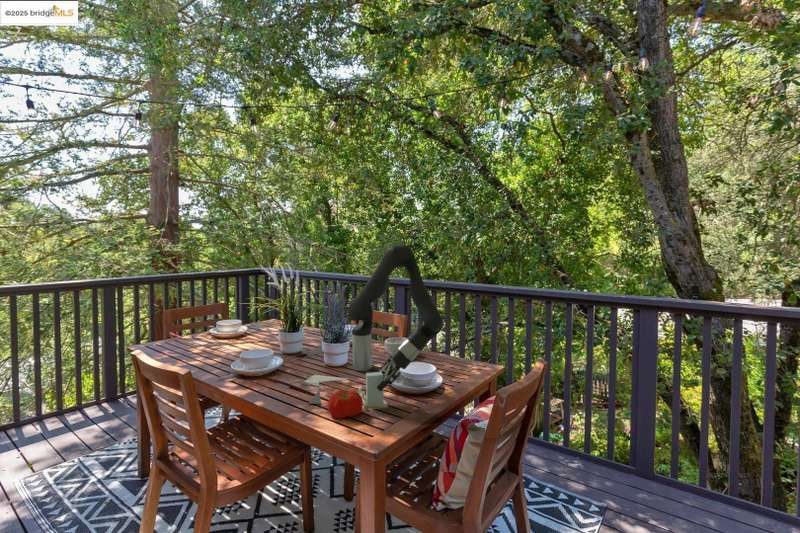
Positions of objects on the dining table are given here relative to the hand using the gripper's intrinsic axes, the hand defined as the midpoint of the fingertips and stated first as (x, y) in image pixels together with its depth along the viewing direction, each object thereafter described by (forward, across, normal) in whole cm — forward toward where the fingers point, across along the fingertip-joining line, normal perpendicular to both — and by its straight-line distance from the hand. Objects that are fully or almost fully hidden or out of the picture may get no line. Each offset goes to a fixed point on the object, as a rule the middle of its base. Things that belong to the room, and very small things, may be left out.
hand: (376, 385), depth 159 cm
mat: (+20, -13, -8) cm, 25 cm away
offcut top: (+5, -10, +4) cm, 12 cm away
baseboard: (+15, -27, -2) cm, 31 cm away
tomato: (+15, +5, -3) cm, 16 cm away
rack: (+6, -5, +5) cm, 10 cm away
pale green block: (+6, 0, +5) cm, 7 cm away
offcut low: (+6, -10, +5) cm, 12 cm away
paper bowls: (-10, -63, +23) cm, 68 cm away
